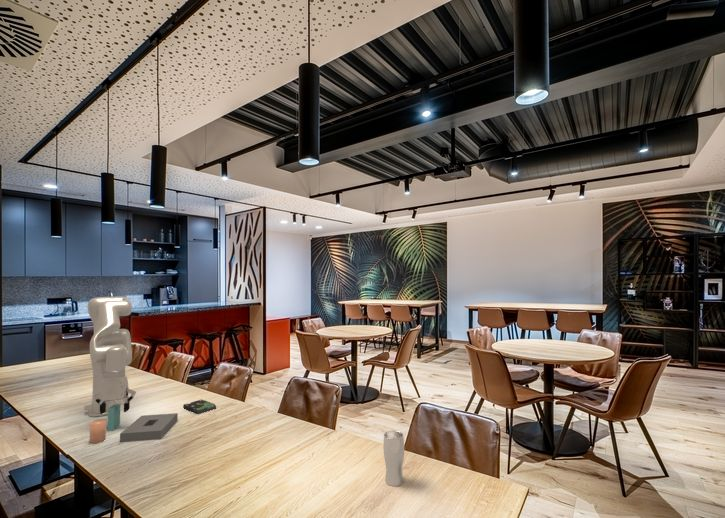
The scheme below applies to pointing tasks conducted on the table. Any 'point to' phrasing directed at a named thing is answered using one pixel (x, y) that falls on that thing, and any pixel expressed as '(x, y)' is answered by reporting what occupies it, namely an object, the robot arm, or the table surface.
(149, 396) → the table surface
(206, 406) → the disk drive
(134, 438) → the socket plate
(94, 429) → the round terracotta peg
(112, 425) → the teal bar
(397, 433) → the beer glass
